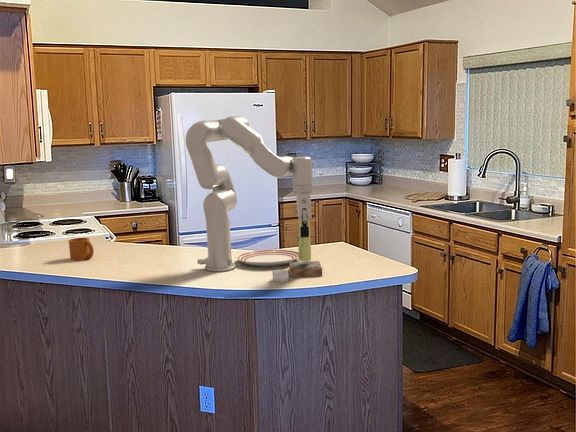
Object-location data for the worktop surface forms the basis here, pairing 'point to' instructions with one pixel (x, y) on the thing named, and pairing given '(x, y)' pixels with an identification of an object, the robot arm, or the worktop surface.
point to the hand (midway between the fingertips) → (304, 234)
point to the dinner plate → (268, 257)
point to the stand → (305, 269)
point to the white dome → (280, 275)
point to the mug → (80, 249)
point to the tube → (304, 245)
